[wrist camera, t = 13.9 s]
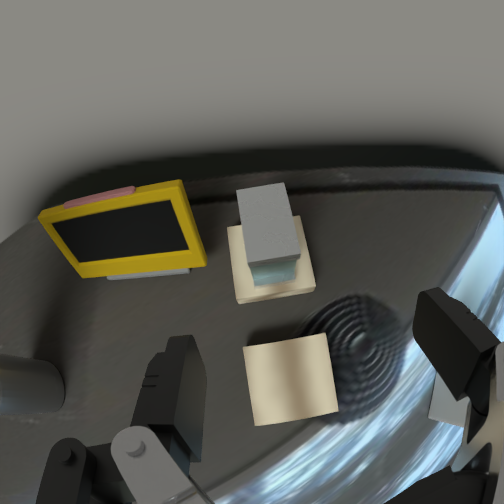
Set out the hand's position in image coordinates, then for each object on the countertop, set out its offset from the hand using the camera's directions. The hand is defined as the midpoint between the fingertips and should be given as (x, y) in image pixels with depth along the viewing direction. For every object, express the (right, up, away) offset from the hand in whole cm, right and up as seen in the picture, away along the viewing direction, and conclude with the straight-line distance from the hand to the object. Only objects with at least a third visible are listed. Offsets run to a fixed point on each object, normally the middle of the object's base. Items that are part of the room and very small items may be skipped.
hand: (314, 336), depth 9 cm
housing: (0, +2, +28) cm, 28 cm away
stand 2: (+3, -13, +25) cm, 28 cm away
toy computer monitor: (-18, +2, +33) cm, 37 cm away
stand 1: (0, +1, +31) cm, 31 cm away
